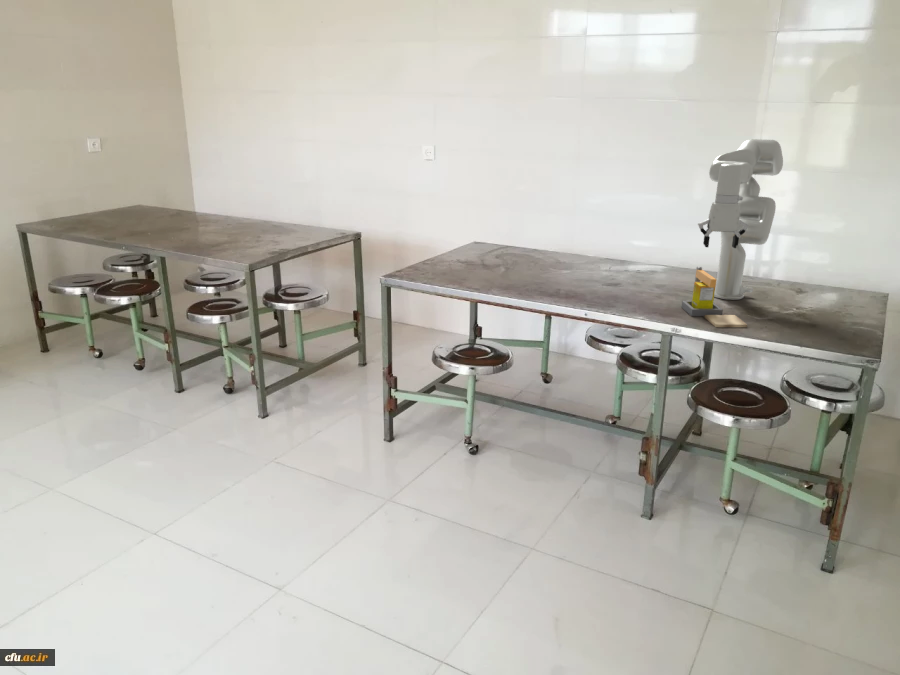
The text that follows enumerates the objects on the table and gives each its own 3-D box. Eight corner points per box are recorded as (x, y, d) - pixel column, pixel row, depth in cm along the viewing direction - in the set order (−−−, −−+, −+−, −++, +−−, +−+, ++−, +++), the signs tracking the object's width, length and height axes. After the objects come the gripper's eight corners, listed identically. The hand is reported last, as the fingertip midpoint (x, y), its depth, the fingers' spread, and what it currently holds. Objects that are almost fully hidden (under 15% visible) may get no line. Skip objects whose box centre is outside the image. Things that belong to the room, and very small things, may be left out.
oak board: (734, 317, 248) (734, 314, 248) (746, 327, 238) (747, 324, 238) (704, 317, 248) (704, 314, 248) (715, 327, 238) (716, 324, 237)
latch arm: (691, 304, 263) (695, 266, 258) (696, 304, 263) (701, 266, 258) (705, 316, 248) (711, 277, 243) (711, 316, 248) (716, 277, 243)
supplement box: (705, 309, 258) (709, 281, 254) (712, 313, 253) (716, 285, 249) (690, 309, 258) (694, 281, 254) (696, 314, 252) (700, 285, 249)
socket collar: (710, 306, 261) (711, 300, 260) (722, 316, 250) (723, 309, 249) (681, 307, 261) (682, 300, 260) (691, 316, 250) (692, 309, 249)
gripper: (749, 198, 242) (742, 245, 248) (699, 197, 244) (693, 244, 250) (755, 201, 235) (747, 250, 241) (703, 200, 237) (697, 248, 243)
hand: (720, 247), depth 245 cm, fingers open, 9 cm apart
